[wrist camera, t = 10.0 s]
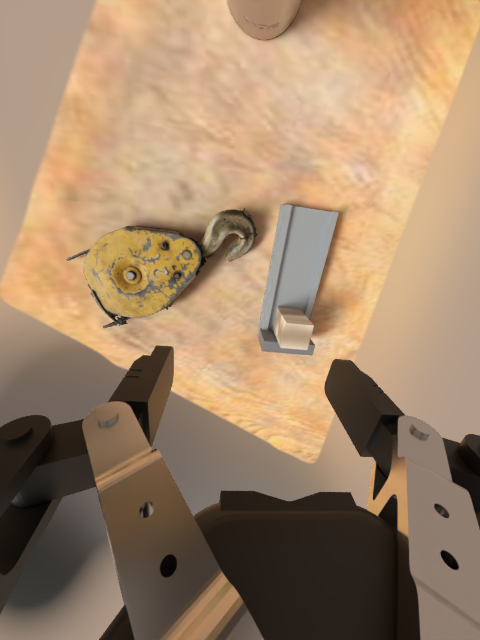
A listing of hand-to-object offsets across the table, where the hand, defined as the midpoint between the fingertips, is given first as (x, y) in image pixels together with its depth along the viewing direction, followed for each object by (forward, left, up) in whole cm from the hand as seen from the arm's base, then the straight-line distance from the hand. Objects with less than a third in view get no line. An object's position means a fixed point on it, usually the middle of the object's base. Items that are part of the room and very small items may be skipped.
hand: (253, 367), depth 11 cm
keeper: (+9, +11, -28) cm, 31 cm away
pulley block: (+1, -11, -30) cm, 32 cm away
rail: (+1, +11, -30) cm, 32 cm away
